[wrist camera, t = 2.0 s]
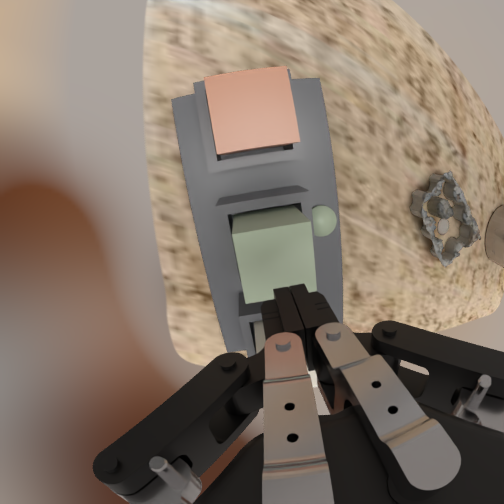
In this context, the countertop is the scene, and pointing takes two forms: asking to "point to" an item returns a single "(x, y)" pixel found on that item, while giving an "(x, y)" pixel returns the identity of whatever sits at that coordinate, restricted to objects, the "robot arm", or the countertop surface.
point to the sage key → (273, 251)
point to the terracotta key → (251, 110)
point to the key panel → (259, 200)
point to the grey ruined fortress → (445, 216)
